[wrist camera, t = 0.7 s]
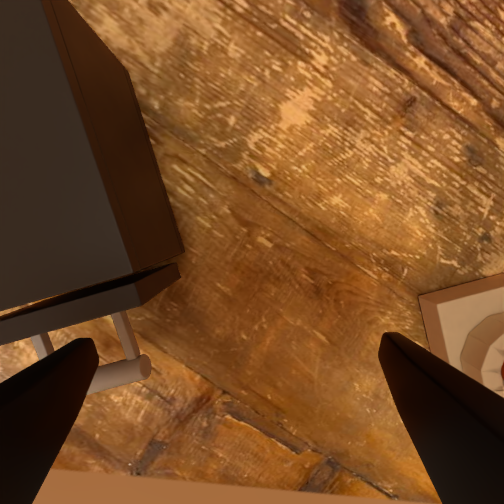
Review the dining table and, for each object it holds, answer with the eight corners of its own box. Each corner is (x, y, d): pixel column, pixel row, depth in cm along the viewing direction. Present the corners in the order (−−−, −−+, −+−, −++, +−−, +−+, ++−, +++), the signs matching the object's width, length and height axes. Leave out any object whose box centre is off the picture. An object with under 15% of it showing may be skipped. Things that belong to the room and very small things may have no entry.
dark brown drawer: (200, 335, 20) (171, 392, 13) (73, 370, 21) (-17, 442, 14) (126, 106, 18) (51, 40, 12) (-11, 150, 19) (-159, 110, 12)
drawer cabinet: (185, 251, 20) (133, 272, 12) (46, 292, 21) (-100, 340, 12) (127, 70, 19) (22, -55, 10) (-20, 118, 20) (-235, 38, 11)
